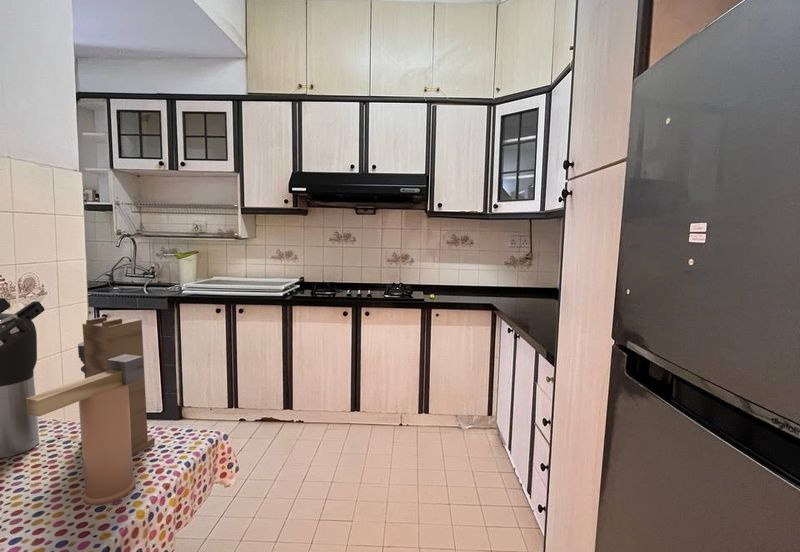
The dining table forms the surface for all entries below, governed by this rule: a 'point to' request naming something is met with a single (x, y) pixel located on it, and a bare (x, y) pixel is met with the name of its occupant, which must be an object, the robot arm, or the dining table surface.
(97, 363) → the stand
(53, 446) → the dining table surface
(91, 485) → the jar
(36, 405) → the mallet
